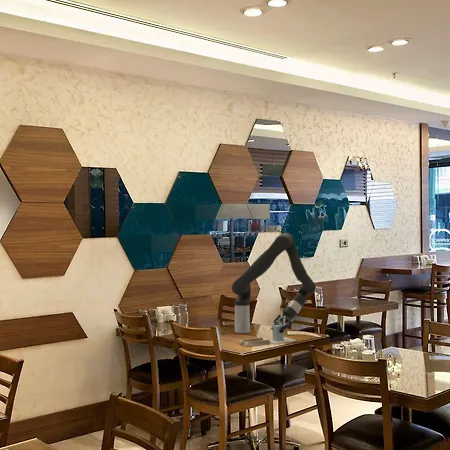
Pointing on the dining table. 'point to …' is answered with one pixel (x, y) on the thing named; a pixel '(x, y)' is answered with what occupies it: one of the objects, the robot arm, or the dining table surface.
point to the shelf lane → (253, 342)
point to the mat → (281, 341)
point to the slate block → (277, 333)
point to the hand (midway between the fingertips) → (276, 331)
